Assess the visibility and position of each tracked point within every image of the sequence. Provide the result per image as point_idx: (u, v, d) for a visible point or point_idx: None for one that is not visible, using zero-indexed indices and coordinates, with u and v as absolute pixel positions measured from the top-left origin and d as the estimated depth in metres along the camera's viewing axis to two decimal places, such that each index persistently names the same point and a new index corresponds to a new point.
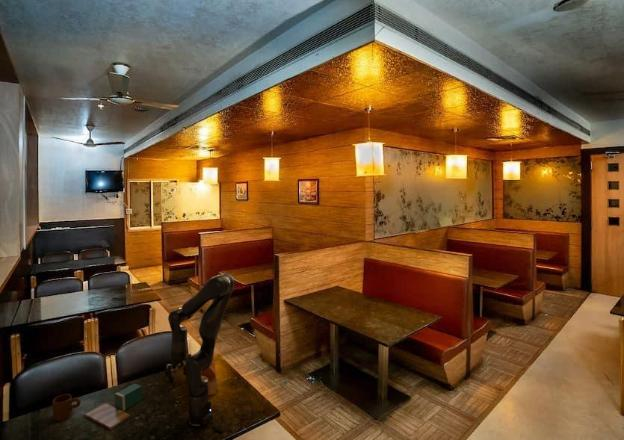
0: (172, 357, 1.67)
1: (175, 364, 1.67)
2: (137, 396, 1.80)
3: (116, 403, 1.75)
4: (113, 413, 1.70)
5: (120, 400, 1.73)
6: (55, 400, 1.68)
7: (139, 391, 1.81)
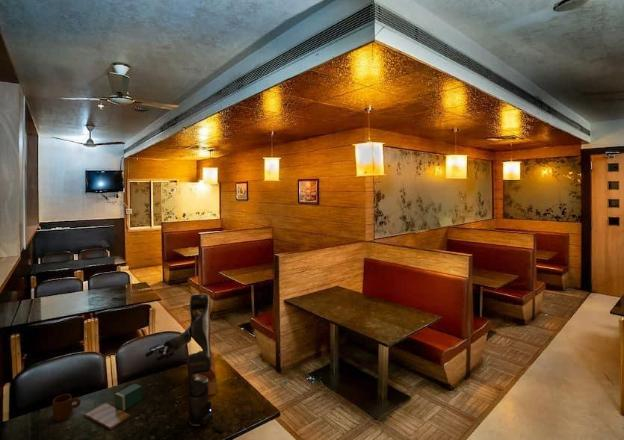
0: None
1: (161, 346, 1.99)
2: (137, 396, 1.80)
3: (116, 403, 1.75)
4: (113, 413, 1.70)
5: (120, 400, 1.73)
6: (55, 400, 1.68)
7: (139, 391, 1.81)
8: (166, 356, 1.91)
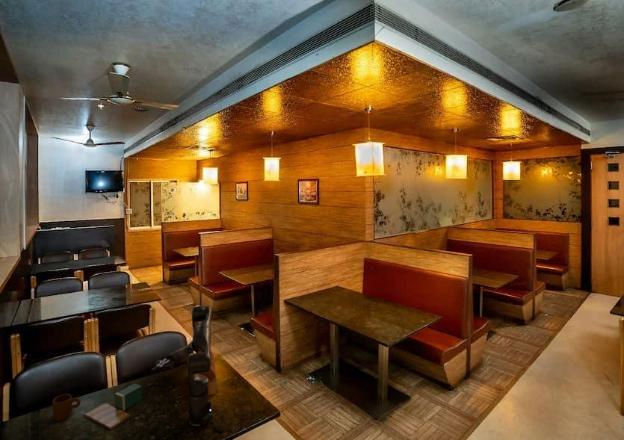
0: None
1: None
2: (137, 396, 1.80)
3: (116, 403, 1.75)
4: (113, 413, 1.70)
5: (120, 400, 1.73)
6: (55, 400, 1.68)
7: (139, 391, 1.81)
8: (161, 368, 1.94)
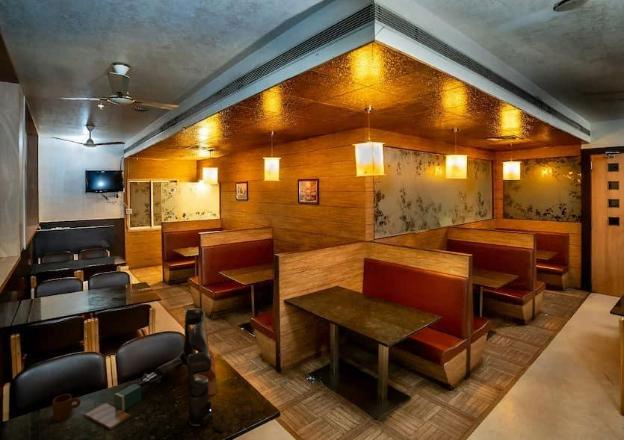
0: None
1: None
2: (136, 396, 1.80)
3: (116, 403, 1.75)
4: (113, 413, 1.70)
5: (119, 400, 1.73)
6: (55, 400, 1.68)
7: (139, 391, 1.81)
8: None
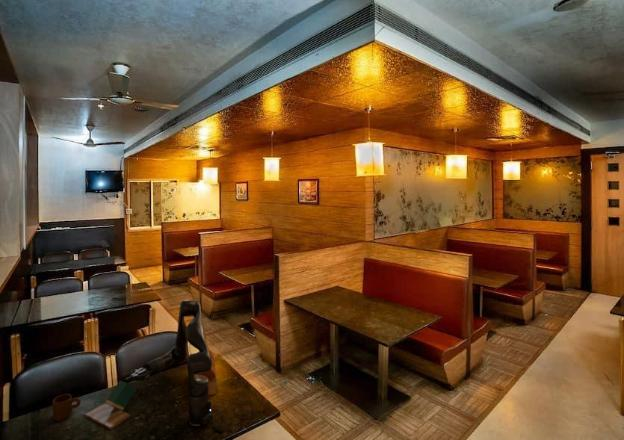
0: None
1: None
2: (128, 391, 1.76)
3: None
4: (113, 413, 1.70)
5: (113, 406, 1.70)
6: (55, 400, 1.68)
7: (128, 387, 1.75)
8: None
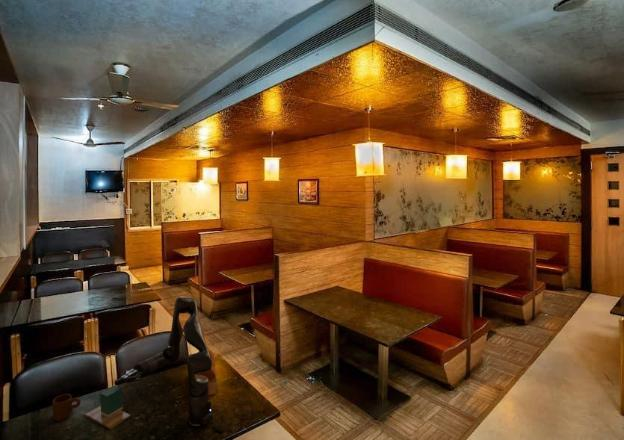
0: None
1: None
2: (115, 397, 1.70)
3: None
4: None
5: None
6: (55, 400, 1.68)
7: (111, 396, 1.68)
8: None
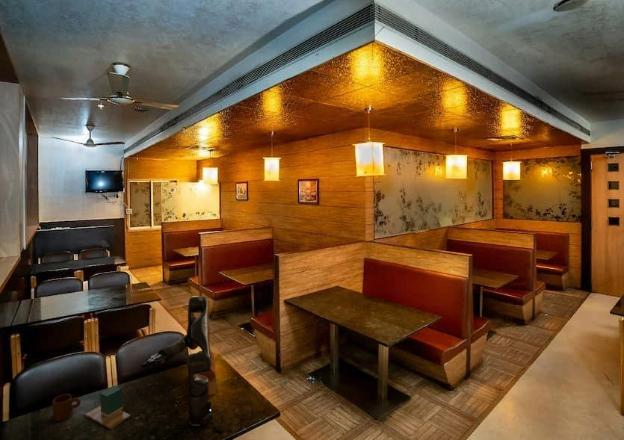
0: None
1: None
2: (115, 397, 1.70)
3: None
4: None
5: None
6: (55, 400, 1.68)
7: (111, 396, 1.68)
8: (152, 363, 1.88)
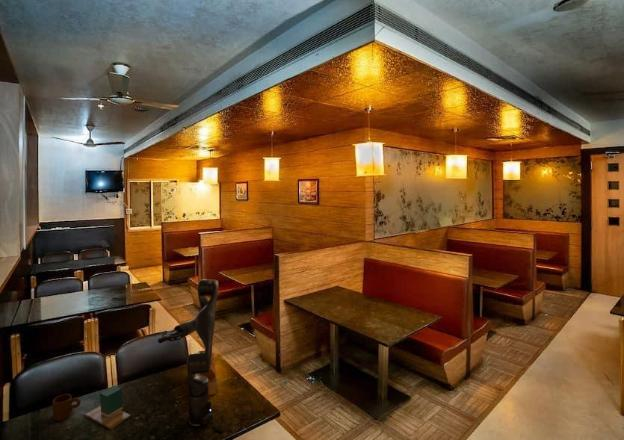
0: None
1: (171, 330, 1.94)
2: (115, 397, 1.70)
3: None
4: None
5: None
6: (55, 400, 1.68)
7: (111, 396, 1.68)
8: (169, 338, 1.87)
